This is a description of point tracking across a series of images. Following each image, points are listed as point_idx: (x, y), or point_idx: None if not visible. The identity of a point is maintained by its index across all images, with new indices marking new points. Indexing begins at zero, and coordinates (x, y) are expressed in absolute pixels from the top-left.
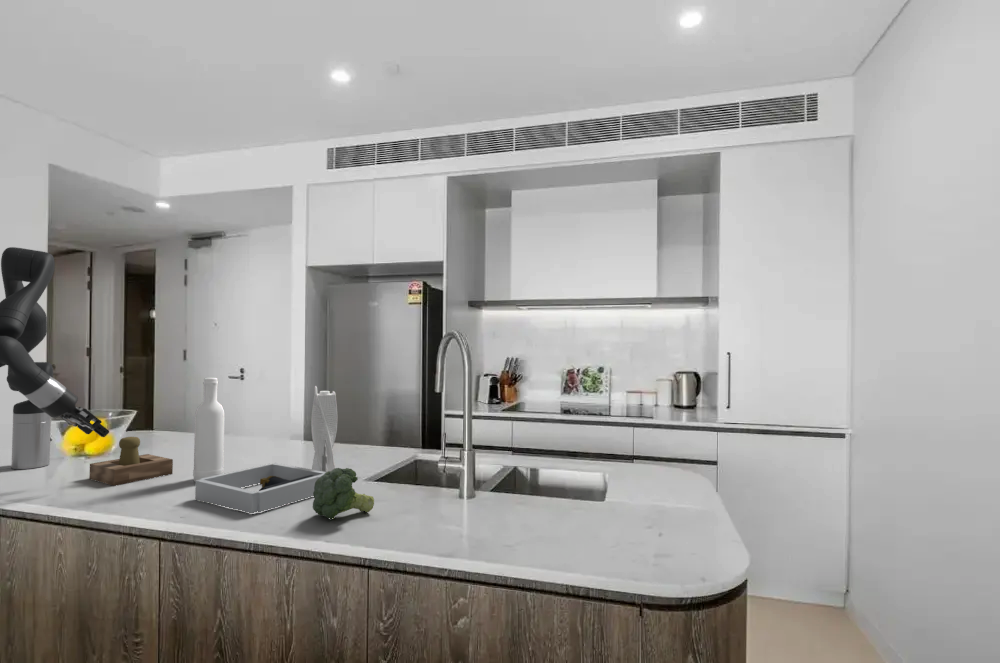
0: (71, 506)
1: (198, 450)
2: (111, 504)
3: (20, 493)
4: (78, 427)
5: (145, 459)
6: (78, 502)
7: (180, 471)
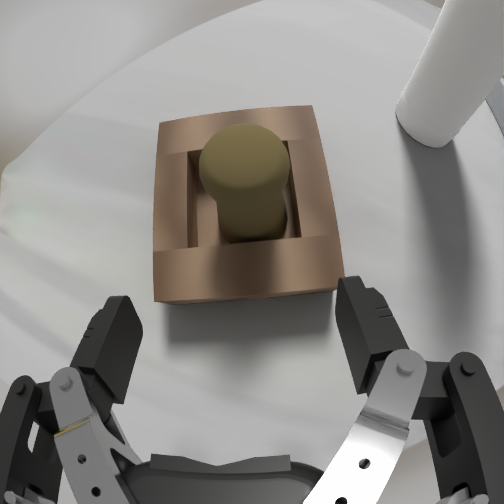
0: None
1: (478, 102)
2: (489, 349)
3: None
4: (122, 400)
5: None
6: None
7: None
